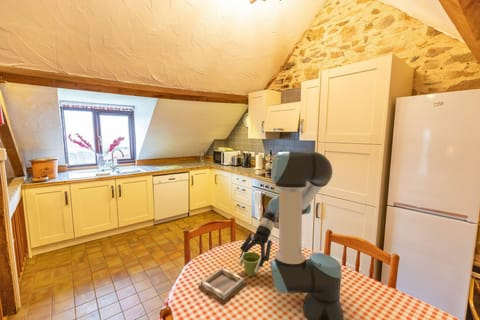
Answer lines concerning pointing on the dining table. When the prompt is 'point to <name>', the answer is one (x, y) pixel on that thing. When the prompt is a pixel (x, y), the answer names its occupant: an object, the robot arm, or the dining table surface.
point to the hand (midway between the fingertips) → (247, 268)
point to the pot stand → (222, 284)
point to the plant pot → (250, 262)
